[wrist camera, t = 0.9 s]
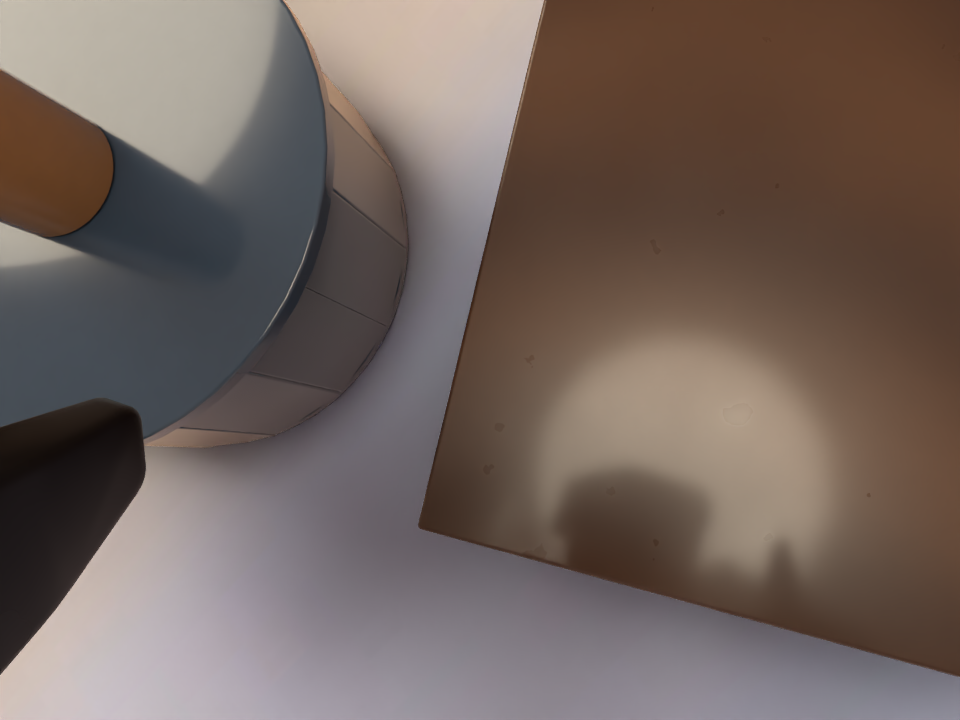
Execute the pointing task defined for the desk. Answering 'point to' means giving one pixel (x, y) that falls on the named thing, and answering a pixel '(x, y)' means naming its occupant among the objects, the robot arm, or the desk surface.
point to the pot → (324, 301)
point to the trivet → (727, 317)
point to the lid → (153, 199)
